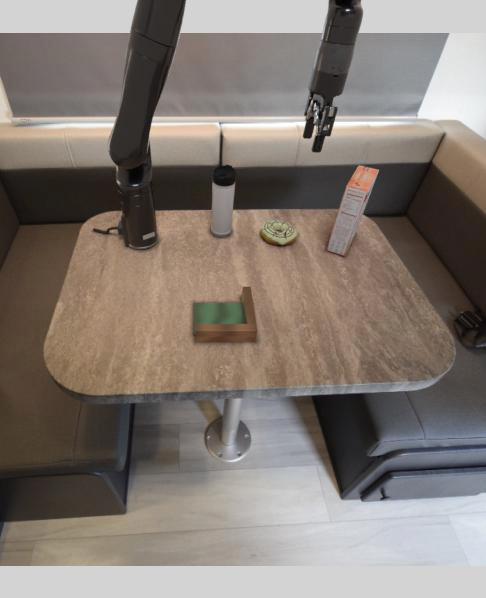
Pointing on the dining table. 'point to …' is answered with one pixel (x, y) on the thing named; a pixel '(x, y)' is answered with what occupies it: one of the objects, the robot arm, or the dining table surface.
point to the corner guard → (226, 320)
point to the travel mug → (222, 200)
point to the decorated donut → (278, 232)
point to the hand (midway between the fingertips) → (311, 144)
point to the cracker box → (351, 209)
